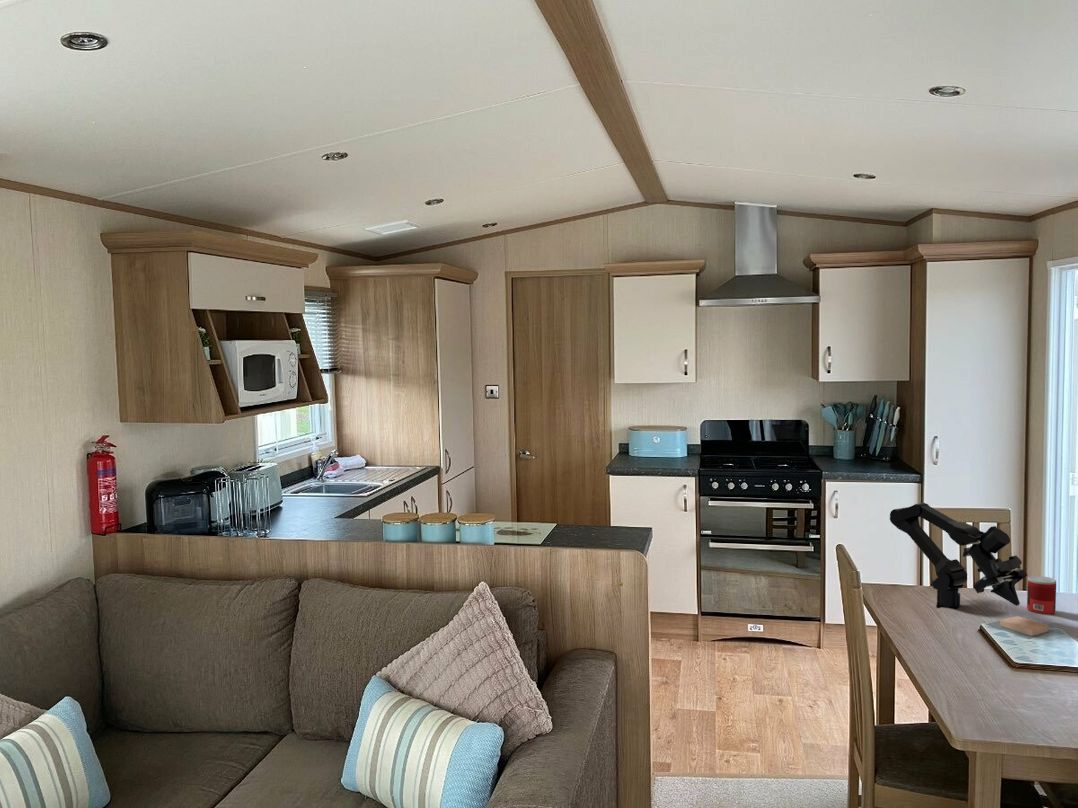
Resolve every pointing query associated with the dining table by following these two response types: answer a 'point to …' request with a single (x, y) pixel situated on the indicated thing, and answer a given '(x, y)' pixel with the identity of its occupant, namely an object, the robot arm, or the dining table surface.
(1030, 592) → the canned food
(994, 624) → the mat
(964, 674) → the dining table surface
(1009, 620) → the tile
